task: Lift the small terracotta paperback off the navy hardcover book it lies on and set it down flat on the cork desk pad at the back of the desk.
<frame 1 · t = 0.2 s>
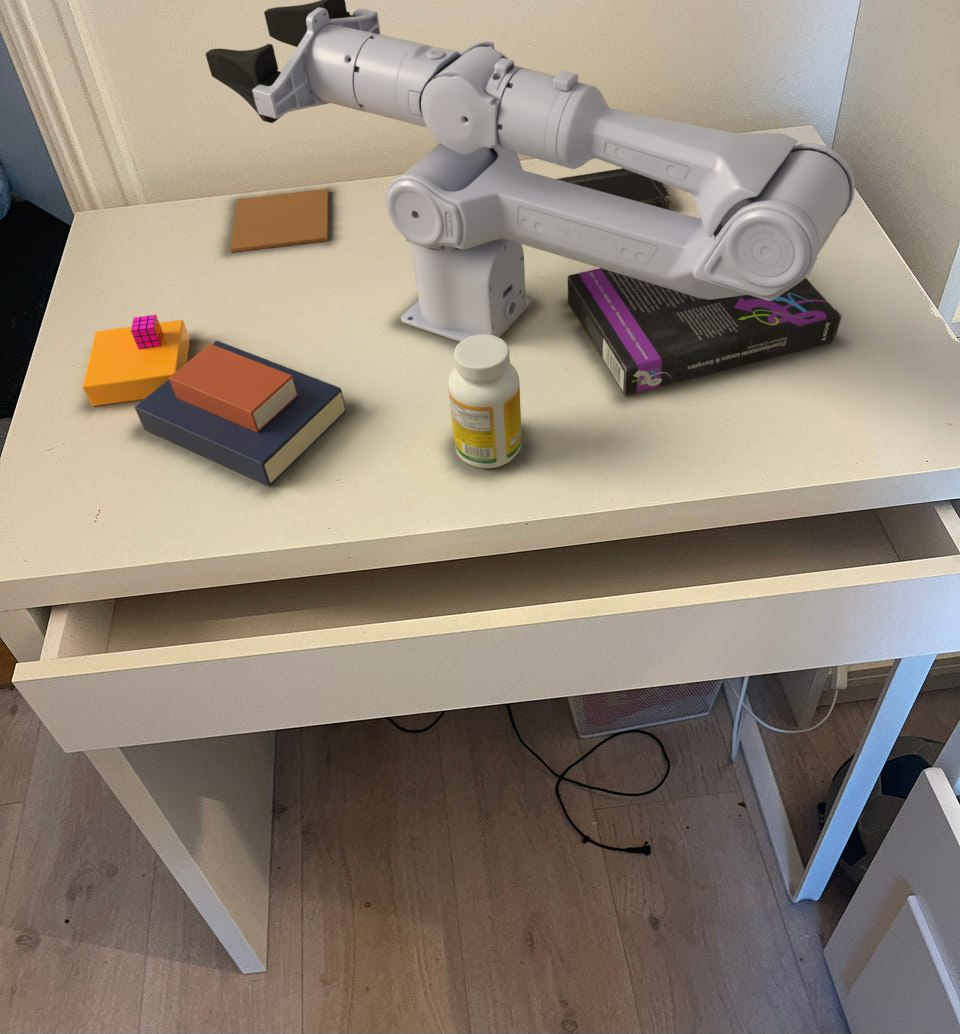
hand: (240, 42, 80), 21 cm above the table, tool horizontal, fingers open, 7 cm apart
desk pad: (281, 221, 101), on the table
phone: (590, 204, 99), on the table
paperback: (236, 397, 78), point 3 cm above the table, touching hardcover
supplement bottle: (489, 448, 76), on the table
box: (696, 326, 85), on the table
hardcover: (245, 420, 80), on the table, touching paperback
flat orange square block: (143, 373, 86), on the table
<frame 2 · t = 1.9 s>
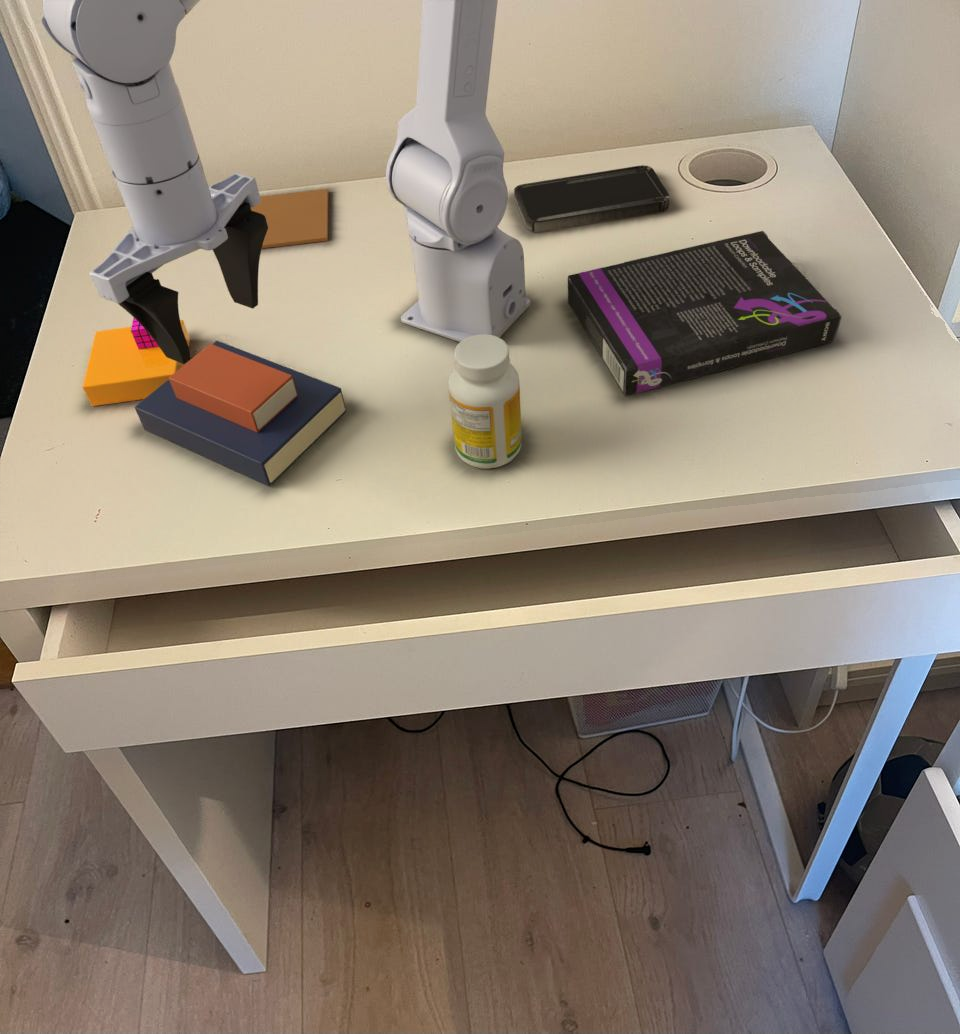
hand: (213, 329, 73), 9 cm above the table, tool pointing down, fingers open, 7 cm apart
nothing on the table moved.
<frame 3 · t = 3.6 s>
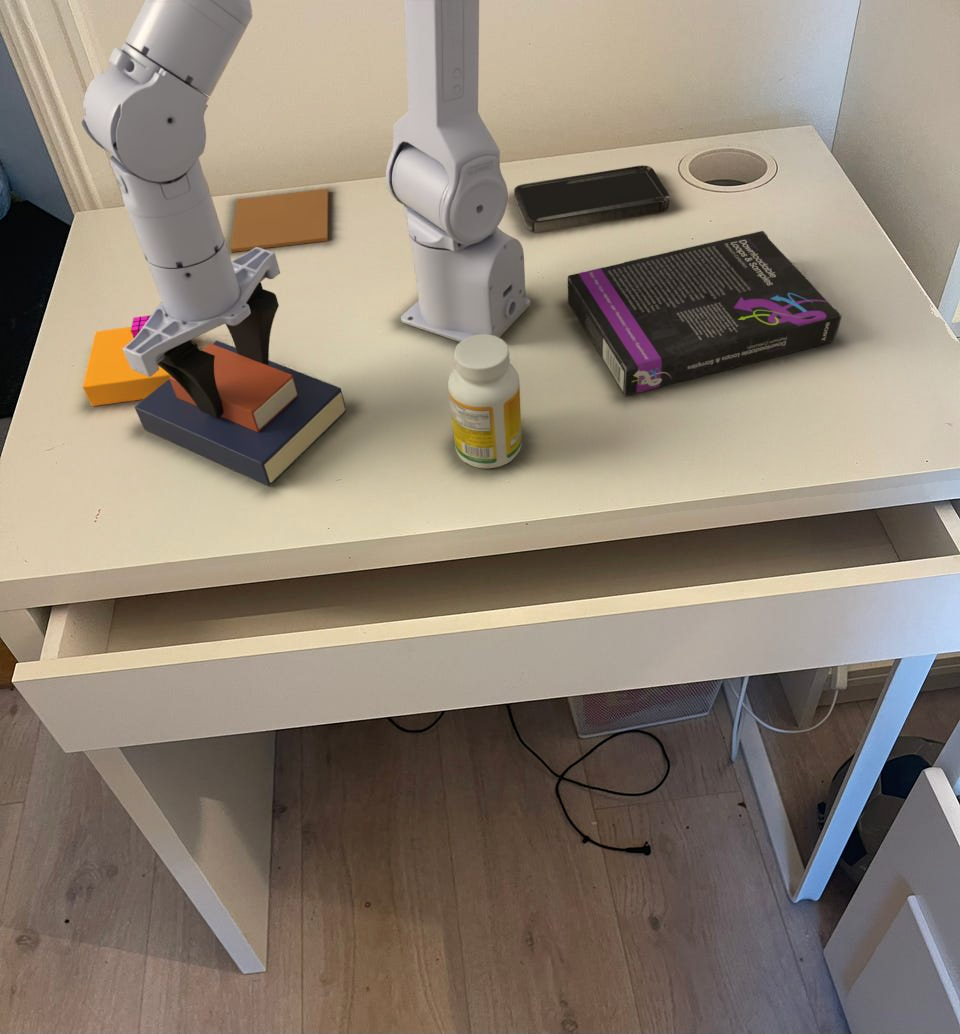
hand: (234, 392, 78), 3 cm above the table, tool pointing down, fingers closed on paperback, 5 cm apart
paperback: (237, 396, 78), point 3 cm above the table, touching gripper, hardcover
everything else where it was.
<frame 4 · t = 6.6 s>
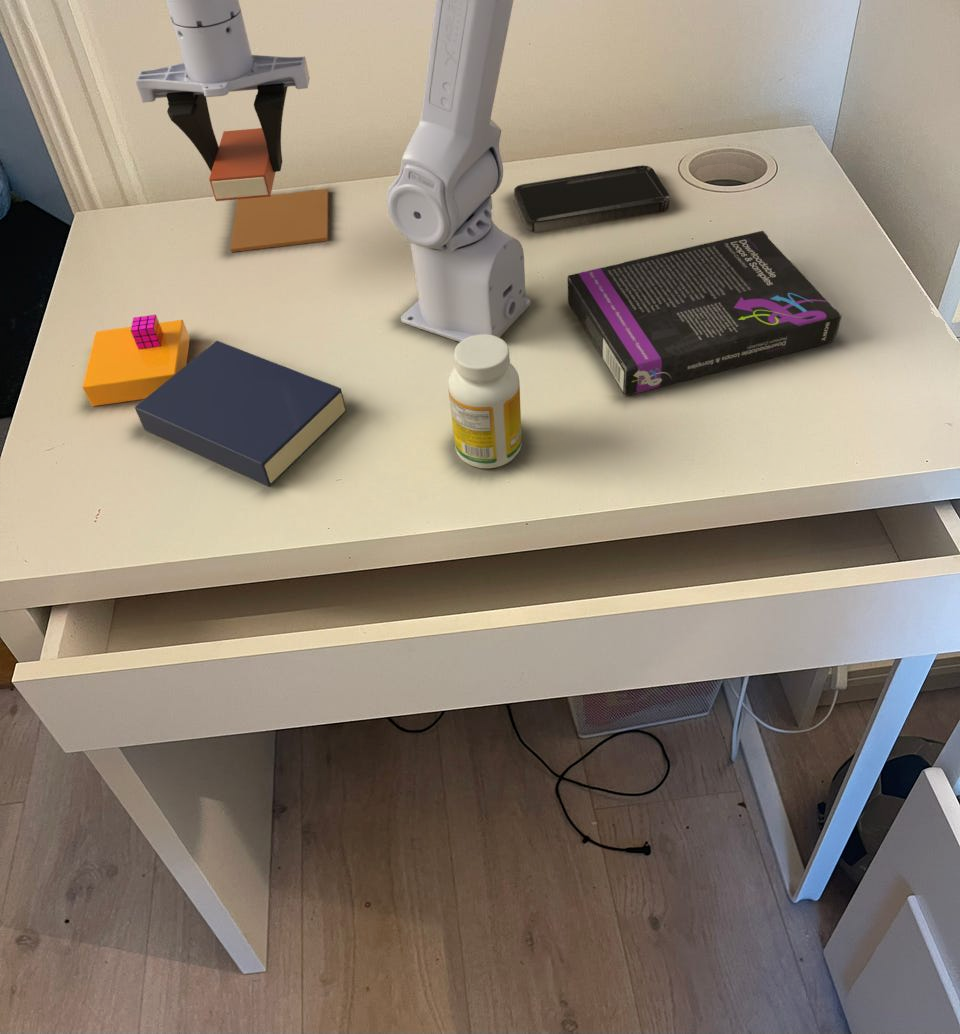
hand: (247, 169, 88), 10 cm above the table, tool pointing down, fingers closed on paperback, 5 cm apart
paperback: (249, 174, 89), point 10 cm above the table, touching gripper
hardcover: (245, 421, 80), on the table
everything else where it was.
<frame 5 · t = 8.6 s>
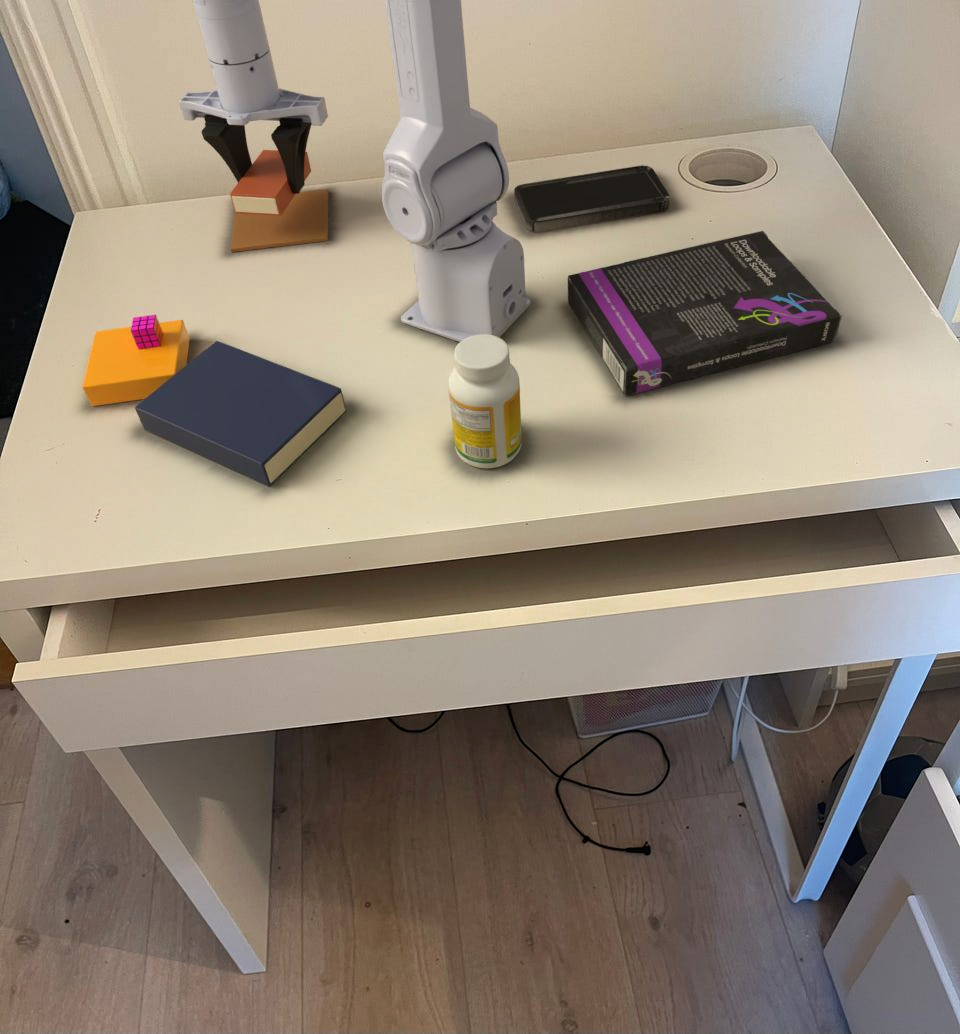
hand: (272, 187, 99), 4 cm above the table, tool pointing down, fingers closed on paperback, 5 cm apart
paperback: (274, 191, 99), point 3 cm above the table, touching gripper
everything else where it was.
when the fingers open (1 cm above the table, at t = 10.0 s): paperback stays where it is, resting on desk pad.
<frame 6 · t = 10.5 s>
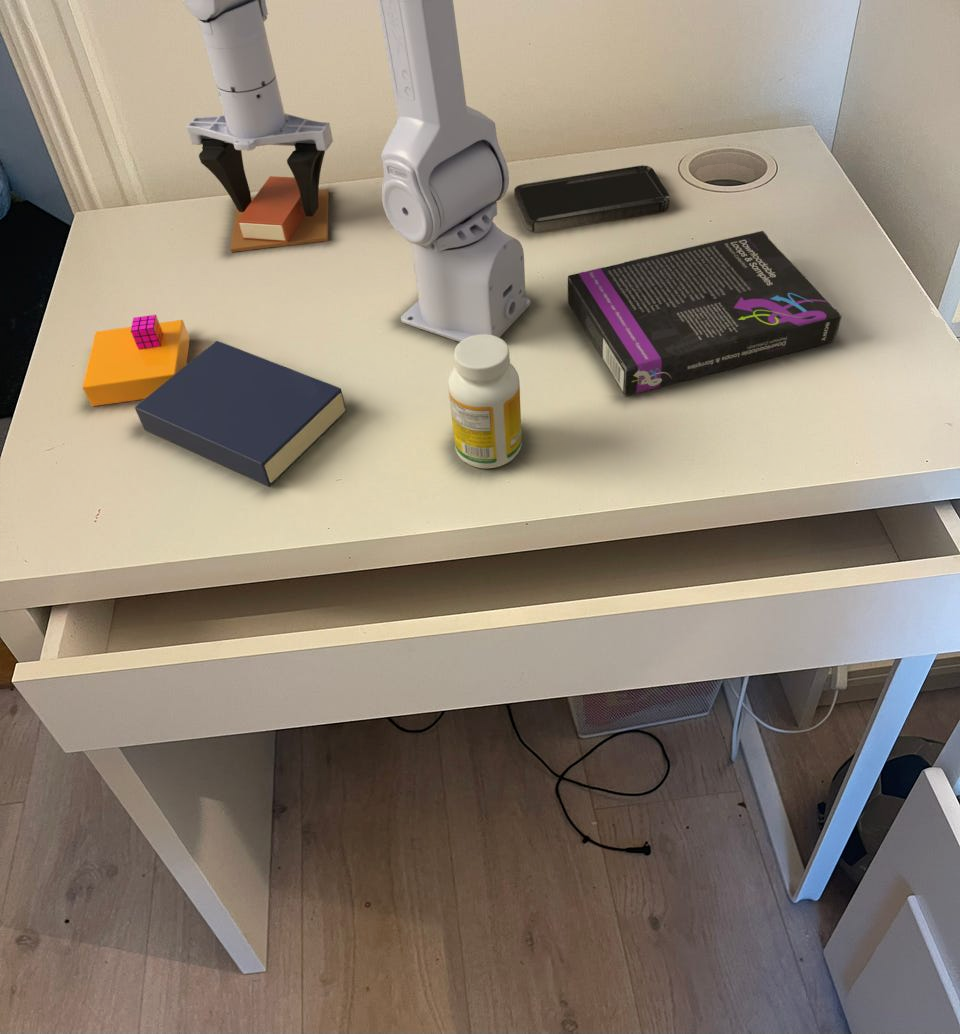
hand: (278, 209, 100), 1 cm above the table, tool pointing down, fingers open, 7 cm apart
paperback: (280, 217, 101), resting on desk pad
everything else where it was.
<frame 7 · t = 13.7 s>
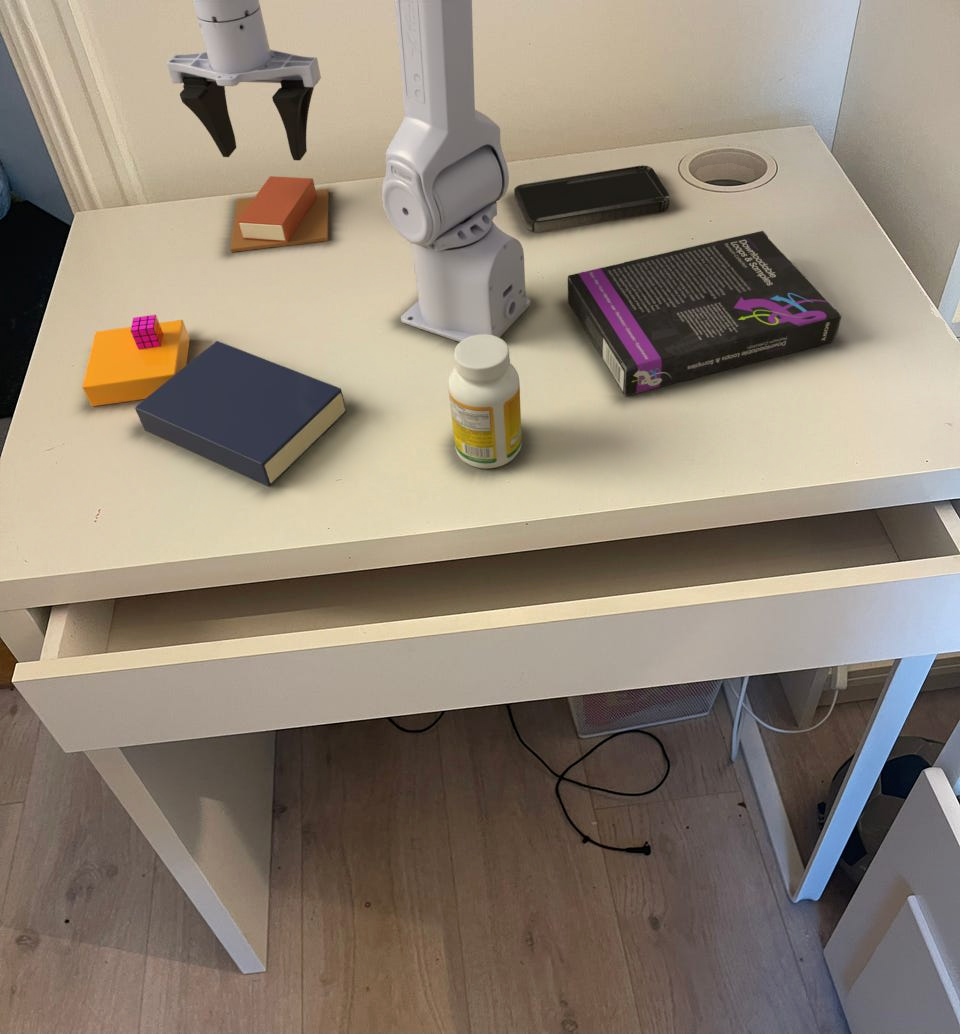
hand: (264, 154, 96), 8 cm above the table, tool pointing down, fingers open, 7 cm apart
nothing on the table moved.
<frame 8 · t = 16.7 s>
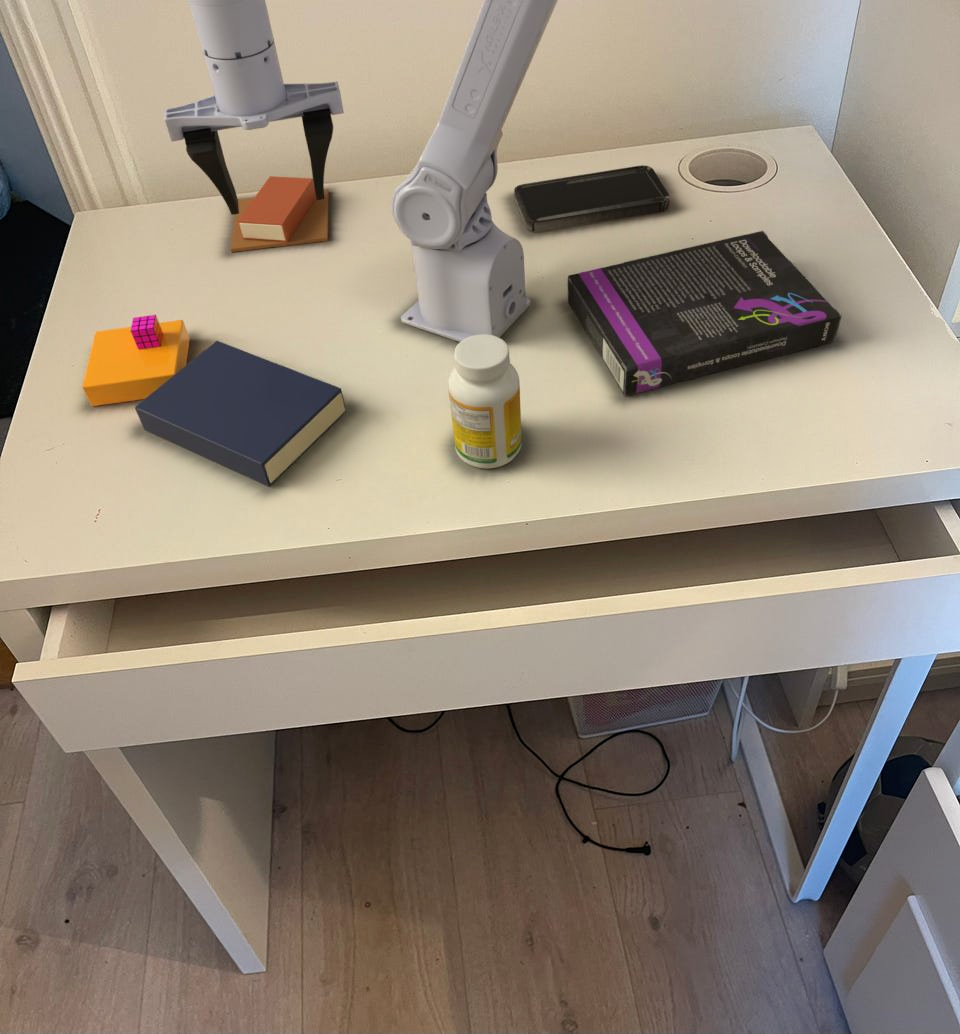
hand: (277, 201, 86), 9 cm above the table, tool pointing down, fingers open, 7 cm apart
nothing on the table moved.
at the end: paperback inside the target area on the desk pad (0.0 cm from its centre), point 0.4 cm above the desk pad's base; paperback tilted 0°; hardcover moved 0.1 cm from its start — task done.
